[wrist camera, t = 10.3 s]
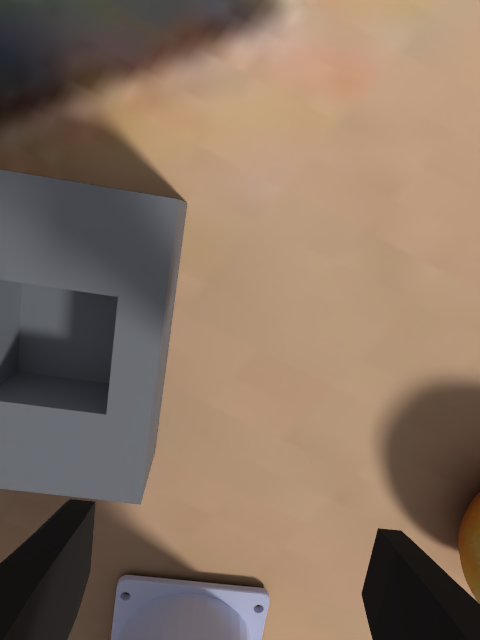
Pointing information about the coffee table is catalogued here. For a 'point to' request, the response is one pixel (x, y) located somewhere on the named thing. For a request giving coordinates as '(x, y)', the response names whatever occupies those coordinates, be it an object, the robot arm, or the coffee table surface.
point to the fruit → (471, 546)
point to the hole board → (83, 334)
